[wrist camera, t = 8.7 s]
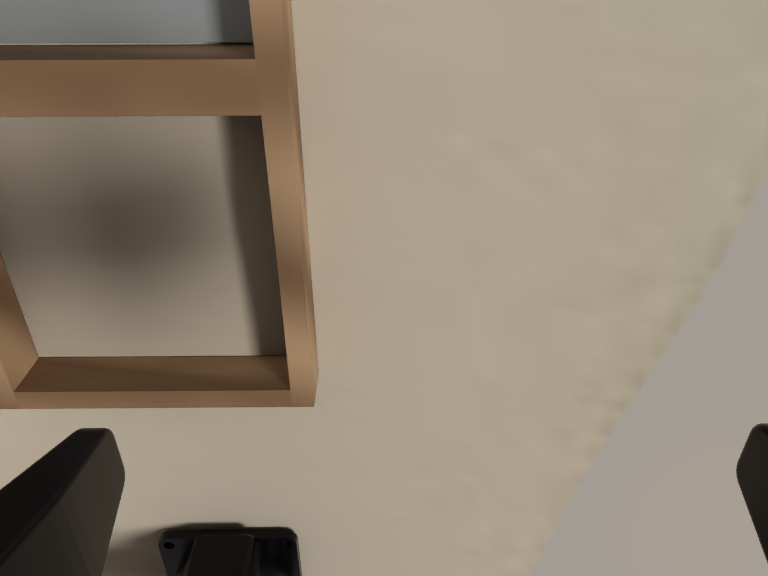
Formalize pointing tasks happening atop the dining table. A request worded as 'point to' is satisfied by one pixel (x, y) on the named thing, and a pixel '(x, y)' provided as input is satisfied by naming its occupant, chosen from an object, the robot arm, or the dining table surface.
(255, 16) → the caddy
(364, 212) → the dining table surface
